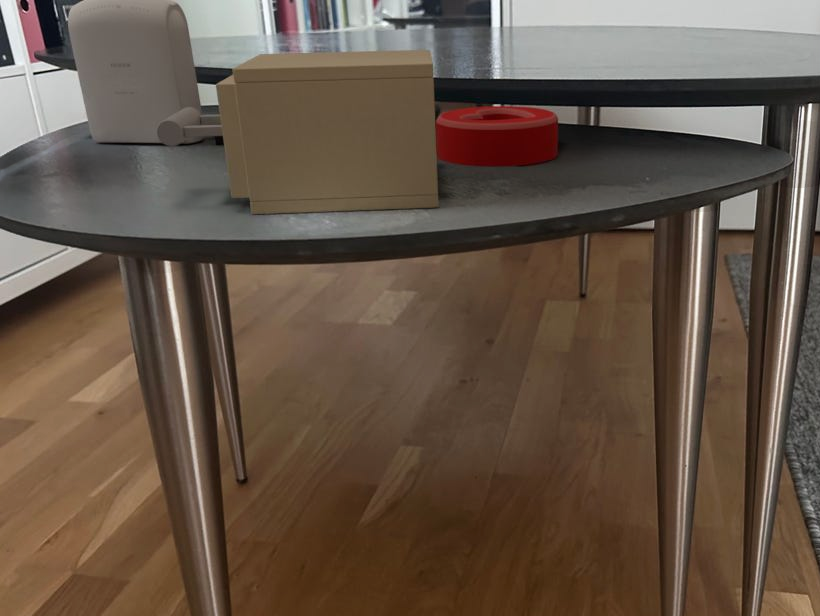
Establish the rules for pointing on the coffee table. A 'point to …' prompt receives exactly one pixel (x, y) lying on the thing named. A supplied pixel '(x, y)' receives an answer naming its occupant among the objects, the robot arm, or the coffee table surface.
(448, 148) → the decorative ornament
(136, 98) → the photo printer
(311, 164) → the cabinet
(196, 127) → the drawer
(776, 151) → the coffee table surface
